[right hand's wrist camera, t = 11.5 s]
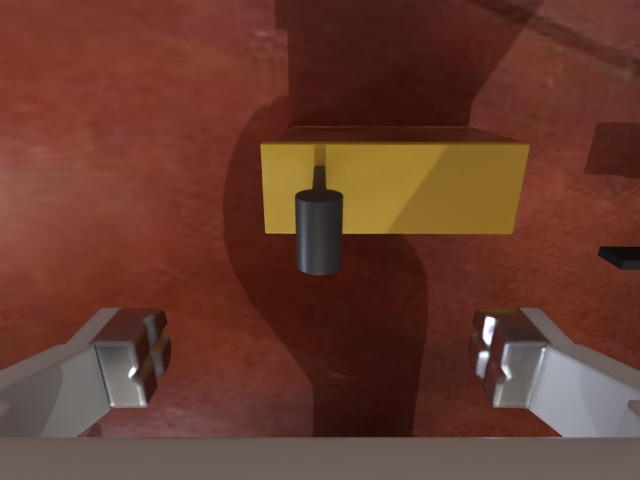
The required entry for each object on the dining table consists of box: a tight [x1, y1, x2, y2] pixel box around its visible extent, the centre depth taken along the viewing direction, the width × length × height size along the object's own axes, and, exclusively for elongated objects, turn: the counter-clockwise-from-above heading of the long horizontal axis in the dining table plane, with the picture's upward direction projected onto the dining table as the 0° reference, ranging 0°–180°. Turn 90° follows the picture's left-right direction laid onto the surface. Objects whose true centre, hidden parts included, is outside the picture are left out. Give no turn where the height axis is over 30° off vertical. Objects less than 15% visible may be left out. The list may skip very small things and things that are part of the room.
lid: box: [261, 142, 530, 275], centre depth 21 cm, size 16×6×9 cm, turn 90°
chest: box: [278, 126, 519, 142], centre depth 29 cm, size 15×6×9 cm, turn 90°
